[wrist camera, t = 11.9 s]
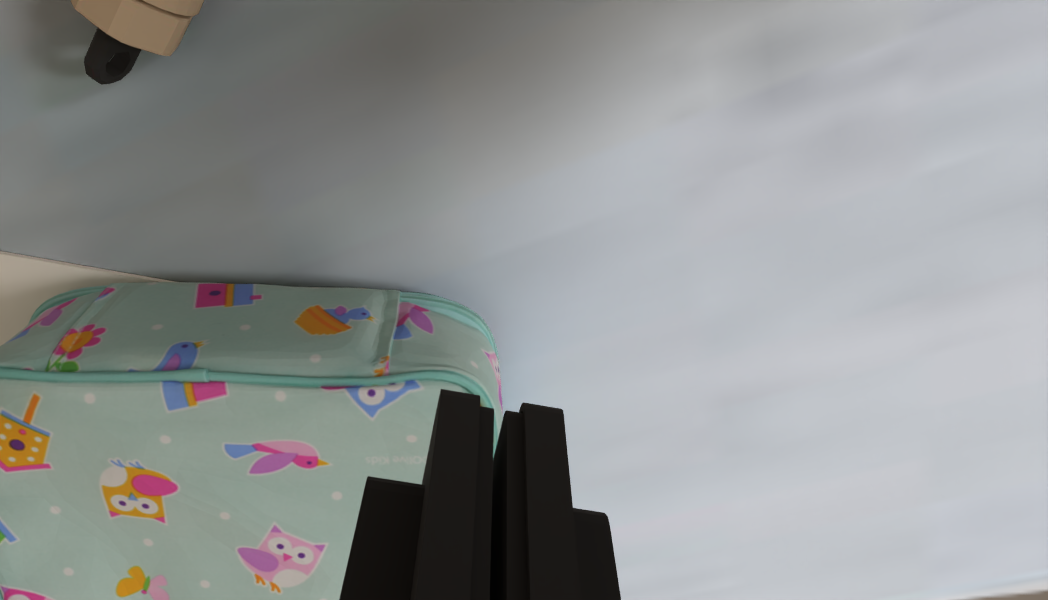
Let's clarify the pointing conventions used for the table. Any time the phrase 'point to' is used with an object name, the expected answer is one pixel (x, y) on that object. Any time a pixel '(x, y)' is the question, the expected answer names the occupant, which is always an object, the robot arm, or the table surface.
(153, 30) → the shock absorber
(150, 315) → the lunch box
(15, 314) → the mat
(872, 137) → the table surface
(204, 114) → the table surface
